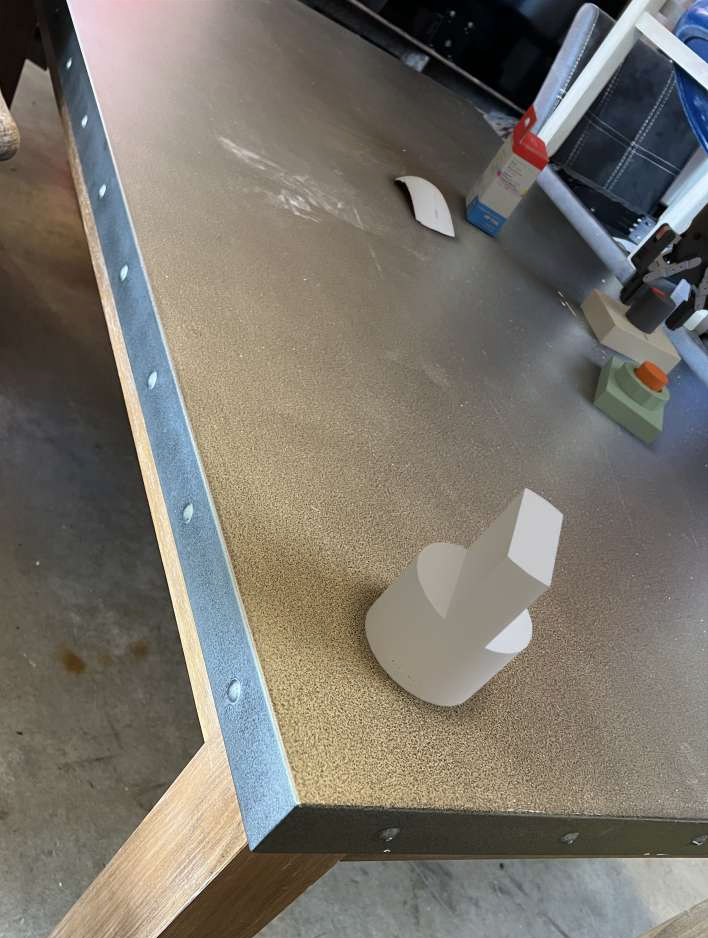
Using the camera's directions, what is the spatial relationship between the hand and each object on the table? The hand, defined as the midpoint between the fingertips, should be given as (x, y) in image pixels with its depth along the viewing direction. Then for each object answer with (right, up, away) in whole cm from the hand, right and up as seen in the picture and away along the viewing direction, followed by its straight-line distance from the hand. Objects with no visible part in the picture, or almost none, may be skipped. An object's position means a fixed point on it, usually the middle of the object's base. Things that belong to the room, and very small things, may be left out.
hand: (645, 314), depth 128 cm
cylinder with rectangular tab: (-41, -41, -63) cm, 85 cm away
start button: (-6, -12, -15) cm, 21 cm away
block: (-8, -15, -13) cm, 21 cm away
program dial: (-1, -1, +1) cm, 1 cm away
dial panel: (-2, -3, +3) cm, 4 cm away
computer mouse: (-30, +13, -2) cm, 33 cm away
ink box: (-21, +15, +7) cm, 27 cm away
